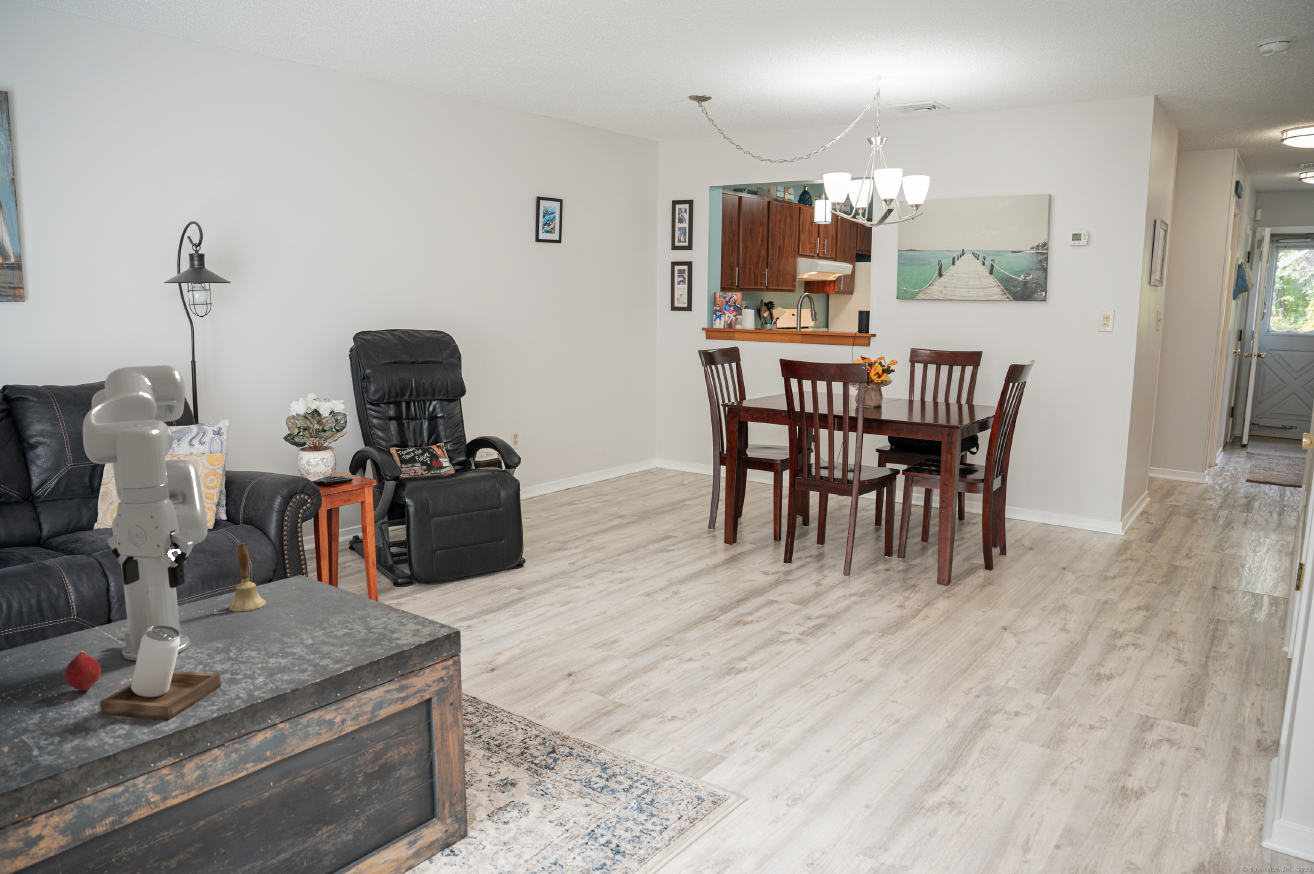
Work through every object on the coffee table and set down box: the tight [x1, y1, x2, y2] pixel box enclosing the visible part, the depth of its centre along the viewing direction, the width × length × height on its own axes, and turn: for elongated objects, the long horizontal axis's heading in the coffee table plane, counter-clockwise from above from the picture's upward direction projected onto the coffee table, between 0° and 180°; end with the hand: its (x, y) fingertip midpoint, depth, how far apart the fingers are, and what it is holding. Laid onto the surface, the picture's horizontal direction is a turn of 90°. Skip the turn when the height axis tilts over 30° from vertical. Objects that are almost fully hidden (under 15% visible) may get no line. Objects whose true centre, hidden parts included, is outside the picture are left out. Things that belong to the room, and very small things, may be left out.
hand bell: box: [228, 542, 267, 613], centre depth 215 cm, size 8×8×16 cm
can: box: [130, 625, 180, 698], centre depth 165 cm, size 6×6×12 cm
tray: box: [99, 670, 222, 721], centre depth 165 cm, size 14×14×2 cm
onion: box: [64, 650, 102, 692], centre depth 169 cm, size 6×6×8 cm
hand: (154, 583), depth 163 cm, fingers open, 9 cm apart
